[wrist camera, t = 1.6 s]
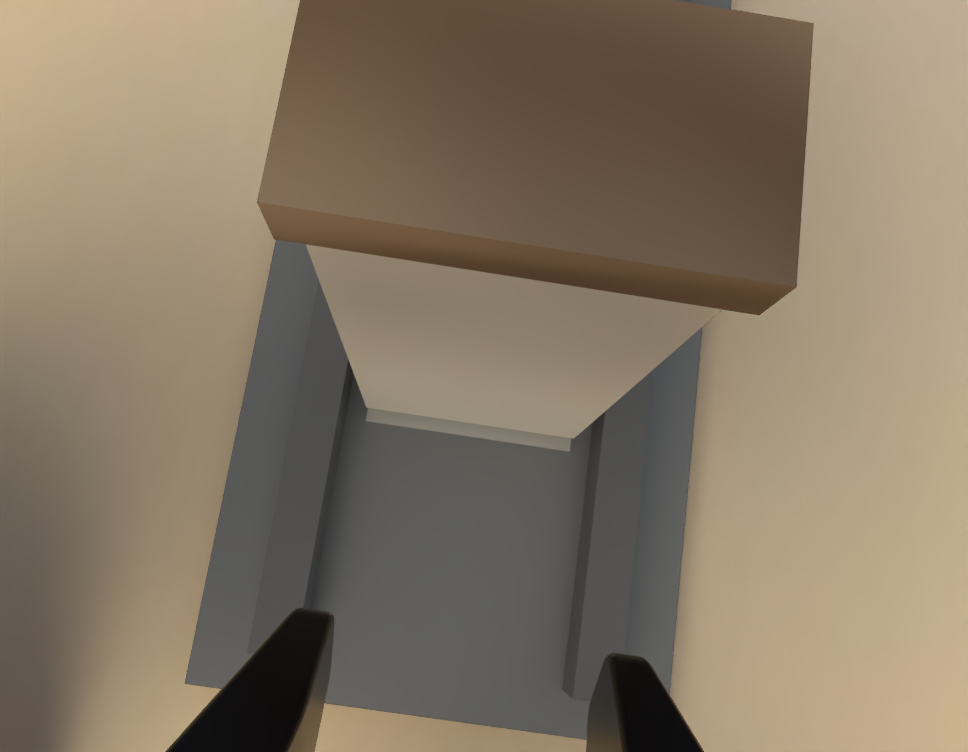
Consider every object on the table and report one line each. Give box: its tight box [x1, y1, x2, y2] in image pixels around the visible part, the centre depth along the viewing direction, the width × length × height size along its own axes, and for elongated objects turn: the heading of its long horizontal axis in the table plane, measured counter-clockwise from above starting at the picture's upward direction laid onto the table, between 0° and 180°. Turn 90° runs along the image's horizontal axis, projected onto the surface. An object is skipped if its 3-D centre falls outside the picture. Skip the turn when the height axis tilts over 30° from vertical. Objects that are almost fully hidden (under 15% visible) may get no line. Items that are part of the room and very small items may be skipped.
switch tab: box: [257, 0, 814, 439], centre depth 15 cm, size 3×5×12 cm, turn 82°
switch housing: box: [185, 0, 731, 740], centre depth 22 cm, size 22×11×2 cm, turn 172°
